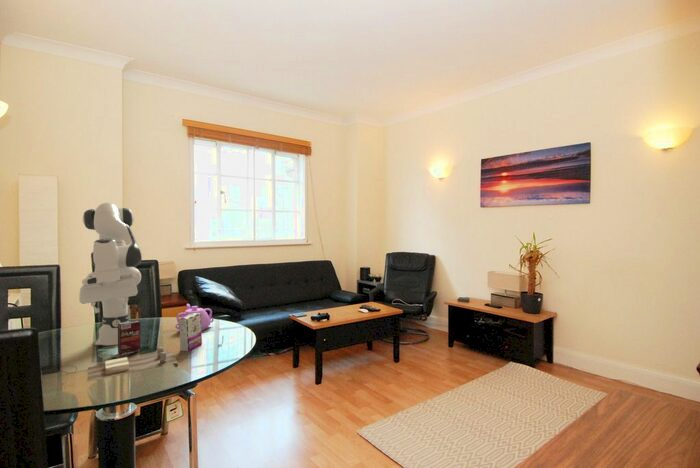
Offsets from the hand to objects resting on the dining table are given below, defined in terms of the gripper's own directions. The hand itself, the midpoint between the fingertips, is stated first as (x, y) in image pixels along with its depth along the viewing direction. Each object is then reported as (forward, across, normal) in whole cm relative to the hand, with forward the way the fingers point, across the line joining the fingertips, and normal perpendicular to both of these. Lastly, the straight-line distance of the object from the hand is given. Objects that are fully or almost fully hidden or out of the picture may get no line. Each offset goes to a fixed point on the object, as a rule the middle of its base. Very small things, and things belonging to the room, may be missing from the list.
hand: (110, 310), depth 151 cm
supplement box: (+26, -9, -22) cm, 35 cm away
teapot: (+26, -47, -46) cm, 71 cm away
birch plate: (+25, -1, -2) cm, 25 cm away
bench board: (+27, -7, -2) cm, 28 cm away
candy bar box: (+27, -34, -12) cm, 45 cm away
